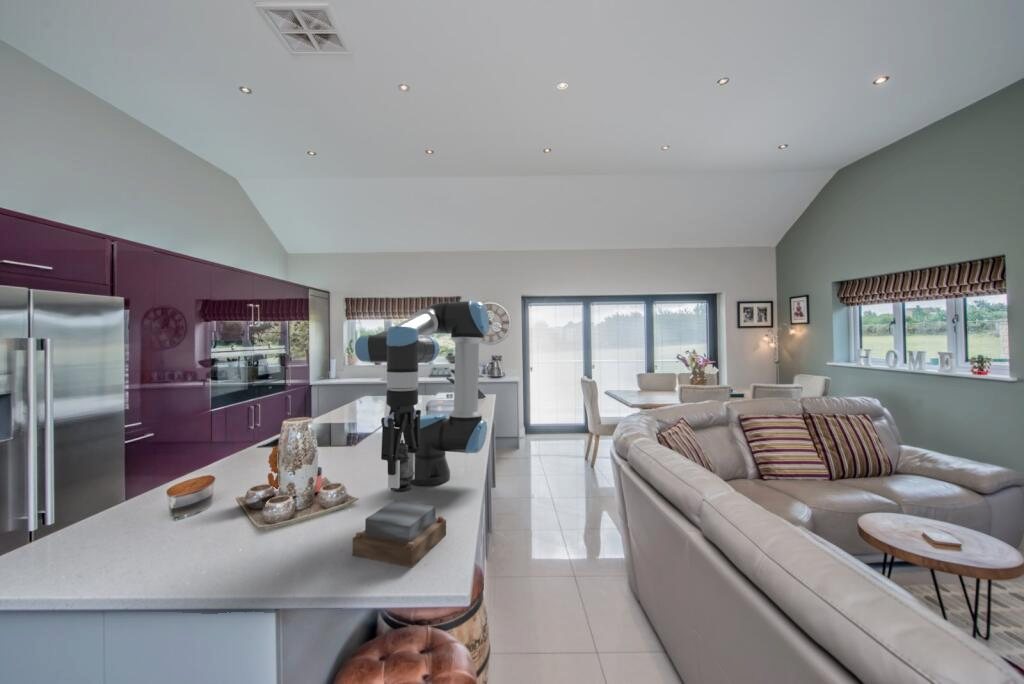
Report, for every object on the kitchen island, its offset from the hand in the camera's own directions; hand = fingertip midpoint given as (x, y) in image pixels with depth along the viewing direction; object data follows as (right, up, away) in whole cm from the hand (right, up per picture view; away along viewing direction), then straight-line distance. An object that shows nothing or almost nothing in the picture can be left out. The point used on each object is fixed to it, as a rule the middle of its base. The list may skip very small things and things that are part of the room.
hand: (401, 482), depth 98 cm
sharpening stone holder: (0, -15, 0) cm, 15 cm away
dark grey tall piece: (0, -2, 0) cm, 2 cm away
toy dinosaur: (-46, -15, +30) cm, 57 cm away
